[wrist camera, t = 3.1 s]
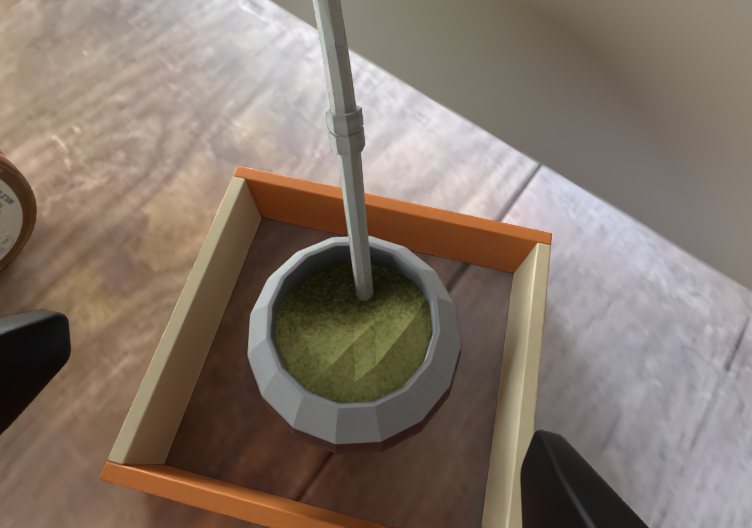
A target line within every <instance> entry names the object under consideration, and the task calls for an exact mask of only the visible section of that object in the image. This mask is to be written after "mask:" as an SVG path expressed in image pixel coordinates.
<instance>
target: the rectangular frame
mask: <svg viewBox="0 0 752 528" xmlns="http://www.w3.org/2000/svg"><path fill="white" fill-rule="evenodd" d="M364 196H365V207H366V218H367V229H368V236H372V237H375V238H378V239H381V240H384V241H387V242H391V243H394V244H397V245H400V246H403V247H406V248H407V249H408V250H412V251H416V252H421V253H425V254H430V255H434V256H439V257H443V258H448V259H452V260H457V261H461V262H466V263H470V264H474V265H479V266H483V267H488V268H492V269H497V270H501V271H506V272H510V273H514V274H513V281H512V289H511V296H510V304H509V312H508V320H507V328H506V336H505V344H504V352H503V360H502V368H501V375H500V383H499V391H498V399H497V407H496V415H495V423H494V431H493V439H492V447H491V454H490V462H489V470H488V478H487V486H486V494H485V502H484V510H483V518H482V526H481V528H522V511H521V486H520V472H521V466H522V463H523V460H524V457H525V455H526V452H527V450H528V447H529V445H530V442H531V439H532V437H533V435H534V424H535V413H536V403H537V392H538V381H539V370H540V359H541V348H542V338H543V327H544V316H545V305H546V294H547V283H548V273H549V262H550V251H551V246H550V245H551V240H552V233H548V232H544V231H539V230H534V229H530V228H525V227H520V226H516V225H511V224H506V223H502V222H497V221H492V220H488V219H483V218H478V217H474V216H469V215H465V214H460V213H455V212H451V211H446V210H441V209H437V208H432V207H427V206H423V205H418V204H413V203H409V202H404V201H399V200H395V199H390V198H385V197H381V196H376V195H371V194H367V193H364ZM262 217H264V218H269V219H273V220H278V221H282V222H286V223H291V224H295V225H300V226H304V227H309V228H313V229H318V230H322V231H327V232H331V233H336V234H340V235H345V236H348V230H347V223H346V215H345V208H344V201H343V193H342V188H339V187H334V186H330V185H325V184H320V183H316V182H311V181H306V180H302V179H297V178H292V177H288V176H283V175H278V174H274V173H269V172H264V171H260V170H255V169H250V168H246V167H241V166H238V167H237V169H236V171H235V174H234V177H233V178H232V180H231V182H230V185H229V187H228V189H227V191H226V194H225V196H224V198H223V200H222V203H221V205H220V207H219V210H218V212H217V214H216V216H215V219H214V221H213V223H212V225H211V228H210V230H209V232H208V234H207V237H206V239H205V241H204V243H203V246H202V248H201V250H200V252H199V255H198V257H197V259H196V261H195V264H194V266H193V268H192V270H191V273H190V275H189V277H188V279H187V282H186V284H185V286H184V288H183V291H182V293H181V295H180V297H179V300H178V302H177V304H176V306H175V309H174V311H173V313H172V315H171V318H170V320H169V322H168V324H167V327H166V329H165V331H164V333H163V336H162V338H161V340H160V342H159V345H158V347H157V349H156V352H155V354H154V356H153V358H152V361H151V363H150V365H149V367H148V370H147V372H146V374H145V376H144V379H143V381H142V383H141V385H140V388H139V390H138V392H137V394H136V397H135V399H134V401H133V403H132V406H131V408H130V410H129V412H128V415H127V417H126V419H125V421H124V424H123V426H122V428H121V430H120V433H119V435H118V437H117V439H116V442H115V444H114V446H113V448H112V451H111V453H110V455H109V457H108V462H107V463H106V464H105V467H104V469H103V471H102V474H101V476H100V480H102V481H106V482H110V483H113V484H117V485H120V486H124V487H127V488H131V489H135V490H138V491H142V492H145V493H149V494H152V495H156V496H160V497H163V498H167V499H170V500H174V501H177V502H181V503H184V504H188V505H192V506H195V507H199V508H202V509H206V510H209V511H213V512H217V513H220V514H224V515H227V516H231V517H234V518H238V519H242V520H245V521H249V522H252V523H256V524H259V525H263V526H267V527H270V528H392V527H389V526H385V525H381V524H378V523H374V522H370V521H367V520H363V519H359V518H356V517H352V516H349V515H345V514H341V513H338V512H334V511H330V510H327V509H323V508H319V507H316V506H312V505H308V504H305V503H301V502H297V501H294V500H290V499H287V498H283V497H279V496H276V495H272V494H268V493H265V492H261V491H257V490H254V489H250V488H246V487H243V486H239V485H235V484H232V483H228V482H225V481H221V480H217V479H214V478H210V477H206V476H203V475H199V474H195V473H192V472H188V471H184V470H181V469H177V468H173V467H170V466H166V465H163V464H165V461H166V459H167V456H168V454H169V451H170V449H171V446H172V444H173V441H174V439H175V436H176V433H177V431H178V428H179V426H180V423H181V421H182V418H183V416H184V413H185V411H186V408H187V406H188V403H189V401H190V398H191V396H192V393H193V390H194V388H195V385H196V383H197V380H198V378H199V375H200V373H201V370H202V368H203V365H204V363H205V360H206V358H207V355H208V352H209V350H210V347H211V345H212V342H213V340H214V337H215V335H216V332H217V330H218V327H219V325H220V322H221V320H222V317H223V315H224V312H225V309H226V307H227V304H228V302H229V299H230V297H231V294H232V292H233V289H234V287H235V284H236V282H237V279H238V277H239V274H240V271H241V269H242V266H243V264H244V261H245V259H246V256H247V254H248V251H249V249H250V246H251V244H252V241H253V239H254V236H255V234H256V231H257V228H258V226H259V223H260V221H261V218H262Z"/></svg>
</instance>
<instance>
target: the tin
mask: <svg viewBox="0 0 752 528" xmlns="http://www.w3.org/2000/svg"><path fill="white" fill-rule="evenodd" d="M36 214H37V206H36V199H35V196H34V193H33V191H32V189H31V187H30V185H29V183H28V182H27V180H26V179H25V177H24V176H23V175H22V173H21V172H20V171H19V170H18V169H17V168H16V167H15V166H14V165H13V164H12V163H11V162H10V161H9V160H8V159H7V158H5V156H4V154H3V153H2V152H1V150H0V271H1V270H2V269H3V268H4V267H5V266H6V265H7V264H9V263H10V262H11V261H12V260H13V259H14V258H15V257H16V256H17V255H18V254H19V252H20V251H21V250H22V248H23V247H24V246H25V244H26V243H27V241H28V239H29V238H30V236H31V234H32V231H33V229H34V225H35V222H36Z"/></svg>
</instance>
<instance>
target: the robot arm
mask: <svg viewBox="0 0 752 528" xmlns="http://www.w3.org/2000/svg"><path fill="white" fill-rule="evenodd" d="M70 354H71V342H70V331H69V321H68V318H67V317H66V315H64V314H62V313H59V312H55V311H51V310H46V309H40V310H35V311H29V312H24V313H18V314H13V315H7V316H2V317H0V435H1V434H2V433H3V432H4V431H5V430H6V429H7V428H8V427H9V426H10V425H11V424H12V423H13V422H14V421H15V420H16V419H17V418H18V417H19V415H20V414H21V413H22V412H23V411H24V410H25V409H26V408H27V407H28V405H29V404H30V403H31V402H32V401H33V400H34V399H35V398H36V396H37V395H38V394H39V393H40V392H41V391H42V390H43V389H44V387H45V386H46V385H47V384H48V383H49V382H50V381H51V380H52V378H53V377H54V376H55V375H56V374H57V373H58V372H59V371H60V370H61V368H62V367H63V366H64V365H65V364H66V363H67V361H68V359H69V357H70ZM520 486H521V511H522V528H649V527H648V526H647V525H646V524H645V523H644V522H643V521H642V520H641V519H640V518H639V517H638V516H637V515H636V514H635V512H634V511H633V510H632V509H631V508H630V507H629V506H628V505H627V504H626V503H625V502H624V501H623V500H622V499H621V498H620V497H619V496H618V494H617V493H616V492H615V491H614V490H613V489H612V488H611V487H610V486H609V485H608V484H607V483H606V482H605V481H604V480H603V479H602V478H601V476H600V475H599V474H598V473H597V472H596V471H595V470H594V469H593V468H592V467H591V466H590V465H589V464H588V463H587V462H586V461H585V460H584V459H583V457H582V456H581V455H580V454H579V453H578V452H577V451H576V450H575V449H574V448H573V447H572V446H571V445H570V444H569V443H568V442H567V441H566V439H565V438H564V437H562V436H561V435H559V434H556V433H552V432H548V431H544V430H538V431H536V432H535V433H534V435H533V437H532V439H531V442H530V445H529V447H528V450H527V452H526V455H525V457H524V460H523V463H522V466H521V472H520Z"/></svg>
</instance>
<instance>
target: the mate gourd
mask: <svg viewBox="0 0 752 528" xmlns="http://www.w3.org/2000/svg"><path fill="white" fill-rule="evenodd" d="M313 4H314V9H315V15H316V21H317V26H318V33H319V39H320V45H321V51H322V57H323V63H324V69H325V75H326V81H327V88H328V94H329V101H330V109H329V110H328V111H327V112H326V120H327V127H328V130H330V131H329V139H330V145H331V150H332V151H333V152H335V153H336V154H337V158H338V165H339V172H340V179H341V186H342V193H343V201H344V208H345V215H346V223H347V230H348V237H332V238H329V239H327V240H324V241H322V242H320V243H317V244H315V245H312V246H310V247H307V248H305V249H302V250H300V251H298V252H296V253H295V254H294V255H293V256H292V257H291V258H290V259H289V260H287V261H286V262H285V263H284V264H283V265H282V266H281V267H280V268H279V269H278V270H277V271H275V272H274V273H273V274H272V275H271V276H270V277H269V278H268V280H267V282H266V284H265V286H264V288H263V290H262V292H261V294H260V296H259V298H258V300H257V302H256V304H255V306H254V308H253V310H252V312H251V314H250V325H249V341H248V359H249V364H250V367H251V370H252V373H253V375H254V378H255V381H256V384H257V387H258V389H259V392H260V395H261V398H262V400H263V403H264V405H265V406H266V407H267V408H268V409H269V410H270V411H271V413H272V414H273V415H274V416H275V417H276V418H277V419H278V420H279V421H280V422H281V423H282V424H283V425H284V426H285V427H286V428H287V429H288V430H289V431H290V432H291V433H292V434H293V435H294V436H295V437H296V438H297V439H300V440H302V441H305V442H307V443H310V444H313V445H315V446H318V447H320V448H323V449H325V450H328V451H330V452H333V453H336V454H351V453H369V452H382V451H384V450H386V449H388V448H390V447H392V446H394V445H396V444H398V443H400V442H402V441H404V440H405V439H407V438H409V437H411V436H413V435H415V434H417V433H419V432H421V431H422V429H423V428H424V427H425V426H426V424H427V423H428V422H429V421H430V419H431V418H432V417H433V416H434V414H435V413H436V412H437V411H438V409H439V408H440V407H441V406H442V404H443V403H444V402H445V401H446V399H447V398H448V396H449V394H450V391H451V387H452V383H453V380H454V376H455V373H456V369H457V365H458V362H459V358H460V355H461V350H460V347H461V342H460V335H459V327H458V319H457V312H456V306H455V304H454V302H453V300H452V299H451V297H450V295H449V293H448V292H447V290H446V288H445V286H444V285H443V283H442V281H441V279H440V278H439V276H438V274H437V272H436V271H435V270H434V269H432V268H431V267H430V266H429V265H427V264H426V263H425V262H424V261H422V260H421V259H420V258H419V257H417V256H416V255H415V254H413V253H412V252H411V251H410V250H408V249H407V248H406V247H403V246H400V245H397V244H394V243H391V242H387V241H384V240H381V239H378V238H375V237H372V236H368V229H367V218H366V207H365V196H364V185H363V173H362V161H361V151H363V148H364V146H365V137H364V127H362V126H363V115H362V107H359V106H356V103H355V95H354V87H353V80H352V73H351V66H350V59H349V52H348V46H347V39H346V33H345V28H344V21H343V15H342V9H341V3H340V0H313Z"/></svg>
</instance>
